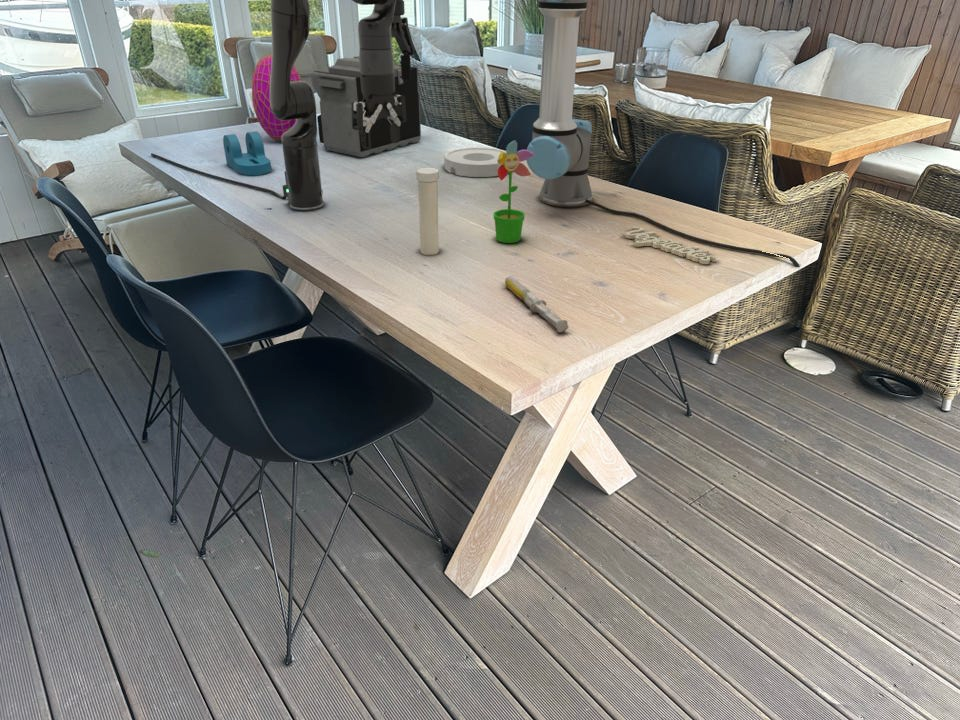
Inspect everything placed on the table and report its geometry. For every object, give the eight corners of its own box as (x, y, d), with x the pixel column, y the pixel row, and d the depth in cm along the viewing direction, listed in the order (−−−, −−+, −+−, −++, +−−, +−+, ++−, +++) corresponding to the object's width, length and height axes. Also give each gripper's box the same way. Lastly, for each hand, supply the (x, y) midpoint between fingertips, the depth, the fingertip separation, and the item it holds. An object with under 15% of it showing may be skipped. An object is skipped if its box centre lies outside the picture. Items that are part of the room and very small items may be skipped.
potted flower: (500, 246, 170) (503, 143, 157) (485, 236, 176) (487, 136, 163) (533, 241, 173) (538, 139, 161) (517, 231, 179) (521, 133, 167)
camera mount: (227, 164, 233) (221, 132, 227) (257, 160, 238) (252, 129, 233) (244, 176, 220) (239, 143, 215) (276, 172, 225) (271, 139, 220)
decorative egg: (293, 132, 276) (283, 50, 261) (319, 140, 264) (310, 56, 249) (249, 139, 265) (236, 54, 250) (273, 148, 253) (261, 60, 238)
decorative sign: (611, 234, 176) (635, 225, 181) (610, 237, 176) (634, 229, 182) (700, 264, 159) (723, 254, 164) (699, 268, 159) (723, 257, 165)
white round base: (447, 158, 243) (446, 146, 241) (512, 159, 243) (512, 148, 241) (441, 176, 223) (441, 164, 221) (512, 177, 223) (513, 165, 221)
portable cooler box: (383, 133, 276) (378, 52, 261) (425, 141, 265) (422, 56, 250) (314, 150, 251) (304, 61, 235) (358, 160, 240) (350, 67, 224)
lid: (412, 178, 158) (412, 169, 157) (431, 174, 161) (431, 166, 160) (424, 183, 155) (423, 174, 154) (443, 179, 157) (442, 171, 156)
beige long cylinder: (417, 250, 167) (414, 171, 158) (432, 247, 170) (430, 168, 160) (426, 256, 164) (424, 176, 155) (442, 252, 167) (440, 173, 157)
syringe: (500, 283, 150) (500, 272, 149) (516, 281, 152) (516, 270, 150) (551, 335, 131) (552, 322, 129) (568, 332, 132) (569, 319, 130)
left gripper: (390, 65, 158) (393, 137, 166) (340, 71, 148) (346, 148, 157) (412, 69, 153) (414, 143, 162) (362, 76, 144) (367, 154, 153)
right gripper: (401, -4, 196) (405, 76, 206) (351, 0, 176) (358, 88, 187) (424, -3, 193) (427, 78, 204) (376, 1, 173) (382, 90, 184)
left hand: (381, 145), depth 159 cm, fingers open, 8 cm apart
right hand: (394, 83), depth 195 cm, fingers open, 13 cm apart
